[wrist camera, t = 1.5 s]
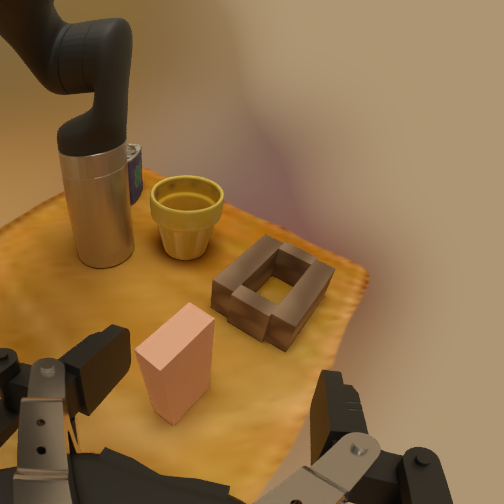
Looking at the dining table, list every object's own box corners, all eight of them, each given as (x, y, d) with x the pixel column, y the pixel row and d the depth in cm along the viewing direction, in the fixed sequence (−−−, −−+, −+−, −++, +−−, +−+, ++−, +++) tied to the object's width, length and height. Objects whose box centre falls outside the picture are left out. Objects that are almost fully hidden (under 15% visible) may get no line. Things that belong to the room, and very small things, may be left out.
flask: (133, 183, 61) (131, 135, 54) (146, 183, 62) (145, 135, 55) (120, 206, 54) (116, 153, 47) (135, 206, 54) (132, 153, 48)
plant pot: (232, 253, 48) (239, 197, 42) (174, 279, 42) (173, 219, 36) (195, 220, 53) (197, 169, 47) (141, 240, 47) (137, 185, 41)
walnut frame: (208, 309, 39) (210, 281, 36) (261, 259, 48) (267, 232, 45) (283, 355, 35) (293, 330, 32) (325, 292, 44) (336, 266, 41)
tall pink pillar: (154, 411, 27) (134, 349, 20) (191, 373, 31) (189, 302, 24) (173, 425, 26) (160, 370, 19) (209, 386, 31) (214, 318, 23)
